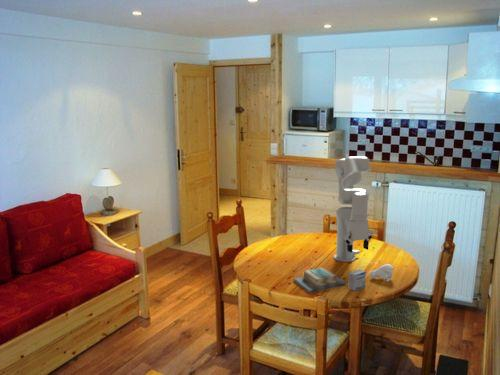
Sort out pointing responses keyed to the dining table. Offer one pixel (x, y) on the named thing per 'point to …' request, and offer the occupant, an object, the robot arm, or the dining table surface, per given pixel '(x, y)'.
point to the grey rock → (383, 272)
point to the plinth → (314, 289)
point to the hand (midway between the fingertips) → (357, 250)
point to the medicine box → (357, 280)
